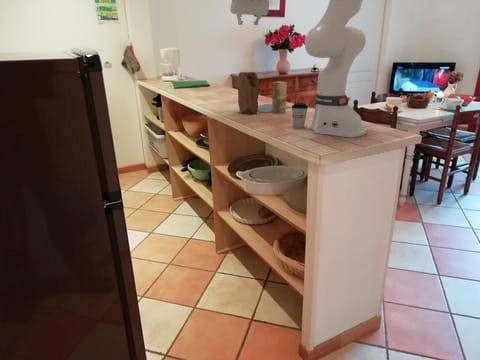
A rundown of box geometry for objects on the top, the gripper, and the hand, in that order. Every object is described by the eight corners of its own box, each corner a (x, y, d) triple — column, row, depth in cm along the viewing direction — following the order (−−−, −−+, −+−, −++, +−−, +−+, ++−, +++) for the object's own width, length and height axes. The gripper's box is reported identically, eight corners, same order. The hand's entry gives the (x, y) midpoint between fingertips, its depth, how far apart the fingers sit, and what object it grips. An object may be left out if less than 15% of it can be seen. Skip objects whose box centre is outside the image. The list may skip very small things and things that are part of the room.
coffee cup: (295, 124, 151) (297, 101, 148) (309, 126, 147) (311, 103, 143) (287, 127, 146) (288, 103, 143) (301, 130, 142) (303, 105, 138)
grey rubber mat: (289, 107, 189) (289, 107, 189) (266, 113, 175) (266, 112, 175) (267, 104, 199) (267, 103, 199) (243, 109, 185) (243, 108, 185)
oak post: (285, 112, 178) (286, 82, 172) (279, 113, 174) (280, 83, 168) (277, 110, 181) (278, 81, 175) (271, 112, 177) (272, 82, 172)
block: (237, 111, 179) (236, 71, 172) (249, 110, 183) (249, 70, 175) (248, 115, 171) (248, 73, 163) (260, 113, 174) (261, 72, 167)
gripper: (237, -9, 151) (233, 25, 158) (272, -6, 162) (268, 26, 169) (229, -10, 155) (226, 23, 162) (264, -8, 166) (260, 23, 173)
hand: (248, 24), depth 166 cm, fingers open, 8 cm apart
